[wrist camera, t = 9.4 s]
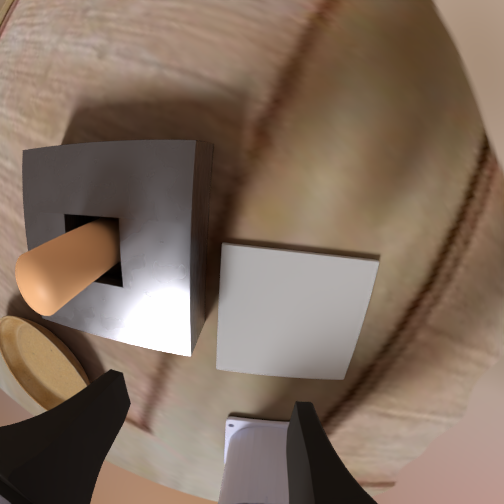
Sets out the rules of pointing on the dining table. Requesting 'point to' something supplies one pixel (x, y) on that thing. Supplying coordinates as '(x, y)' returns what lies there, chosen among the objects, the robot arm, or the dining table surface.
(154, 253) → the socket block
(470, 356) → the dining table surface
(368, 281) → the mat
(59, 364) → the plant saucer
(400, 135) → the dining table surface
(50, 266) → the peg
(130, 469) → the dining table surface
